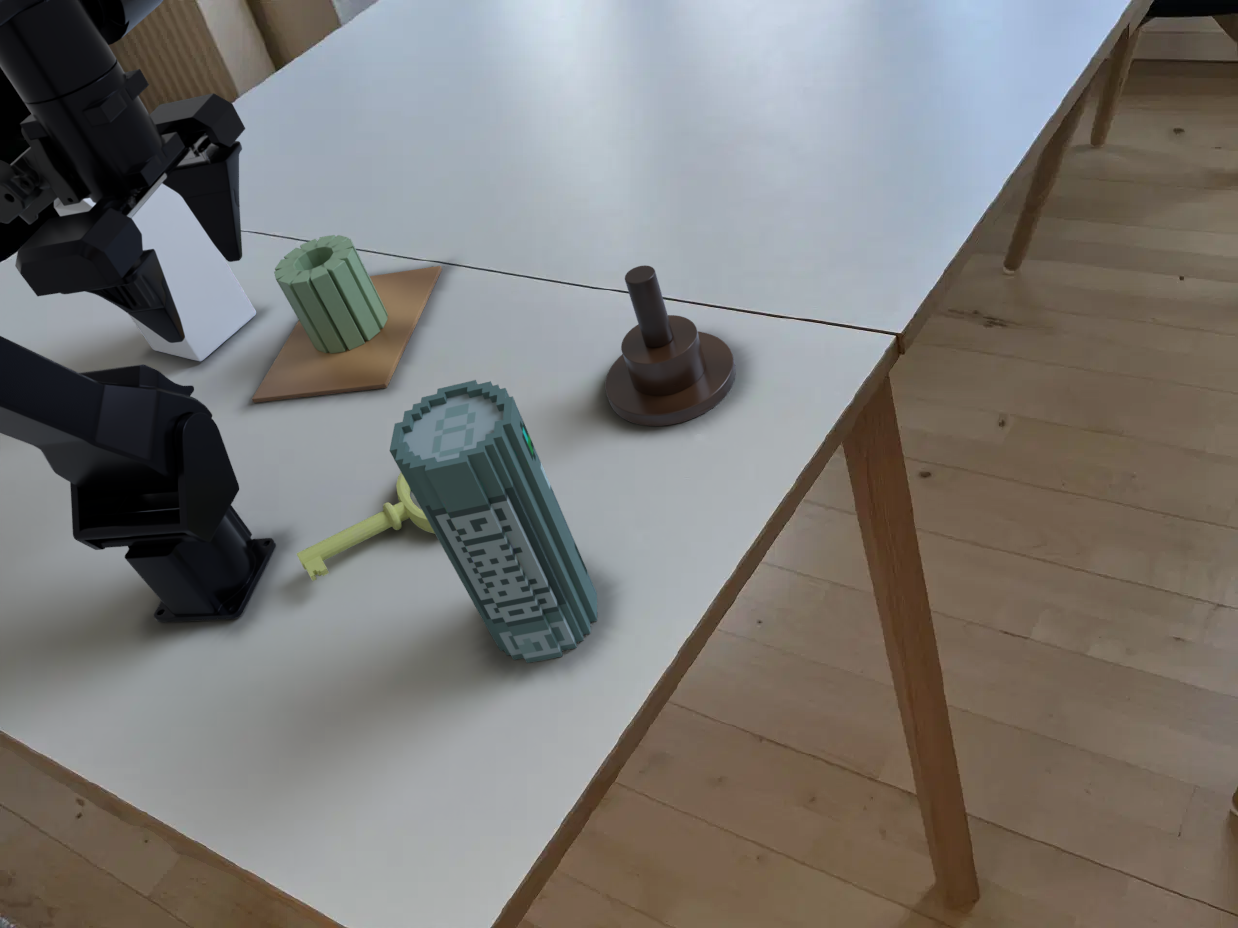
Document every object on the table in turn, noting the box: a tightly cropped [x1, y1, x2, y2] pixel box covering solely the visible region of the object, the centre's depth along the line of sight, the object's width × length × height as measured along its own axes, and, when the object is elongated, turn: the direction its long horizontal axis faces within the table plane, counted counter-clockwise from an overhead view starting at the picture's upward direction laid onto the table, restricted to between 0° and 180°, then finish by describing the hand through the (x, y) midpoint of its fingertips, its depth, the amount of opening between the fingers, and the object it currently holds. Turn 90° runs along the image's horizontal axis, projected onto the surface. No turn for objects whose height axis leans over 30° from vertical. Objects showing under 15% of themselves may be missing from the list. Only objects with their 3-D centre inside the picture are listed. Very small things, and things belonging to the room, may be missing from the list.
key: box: [296, 472, 436, 582], centre depth 69 cm, size 7×12×2 cm, turn 139°
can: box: [389, 379, 598, 664], centre depth 56 cm, size 6×6×15 cm
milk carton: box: [53, 184, 257, 362], centre depth 90 cm, size 7×7×19 cm
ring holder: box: [604, 265, 737, 427], centre depth 71 cm, size 9×9×9 cm
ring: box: [273, 234, 388, 354], centre depth 87 cm, size 7×7×7 cm
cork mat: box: [251, 265, 443, 404], centre depth 89 cm, size 16×12×1 cm
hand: (207, 298), depth 72 cm, fingers open, 9 cm apart
